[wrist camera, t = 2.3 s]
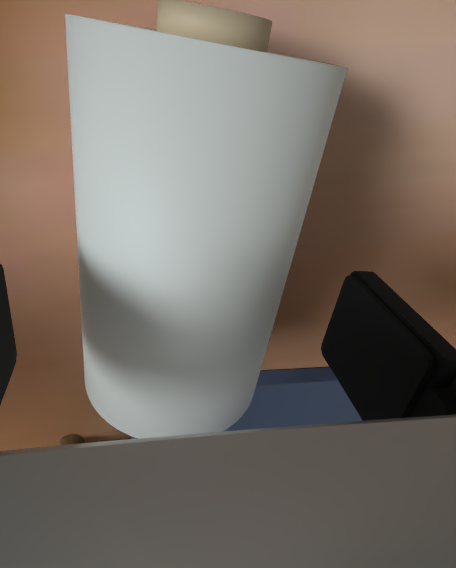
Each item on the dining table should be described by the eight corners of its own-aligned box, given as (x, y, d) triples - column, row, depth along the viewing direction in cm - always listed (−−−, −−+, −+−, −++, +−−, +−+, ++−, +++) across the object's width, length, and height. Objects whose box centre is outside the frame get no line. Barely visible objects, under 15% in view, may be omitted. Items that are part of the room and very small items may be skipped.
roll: (48, -19, 10) (96, -34, 5) (264, 28, 12) (421, 47, 8) (73, 342, 16) (105, 483, 11) (212, 318, 19) (282, 423, 14)
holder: (133, 377, 19) (140, 602, 11) (335, 366, 22) (441, 538, 15) (126, 536, 27) (128, 722, 20) (273, 512, 30) (320, 666, 23)
